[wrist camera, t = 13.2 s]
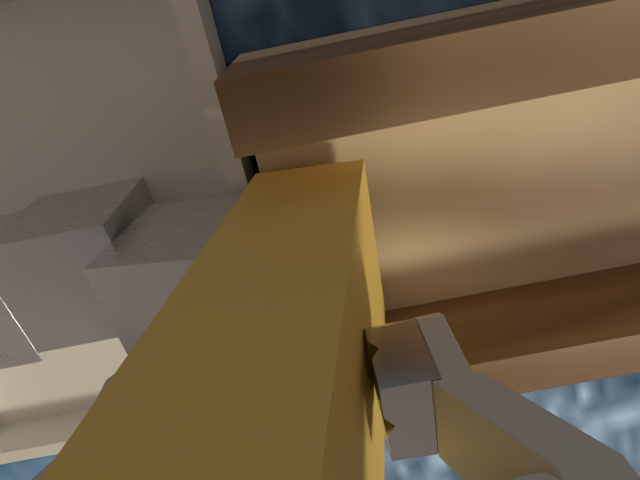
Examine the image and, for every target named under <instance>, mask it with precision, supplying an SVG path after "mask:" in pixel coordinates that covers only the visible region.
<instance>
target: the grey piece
mask: <svg viewBox="0 0 640 480" xmlns="http://www.w3.org/2000/svg"><path fill="white" fill-rule="evenodd" d="M150 205H154V202H153V200H152V197H151V195H150V192H149V190H148V188H147V185H146V183H145V180H144V178H143V177H138V178H133V179H128V180H123V181H119V182H114V183H109V184H104V185H99V186H94V187H89V188H84V189H79V190H74V191H69V192H64V193H59V194H55V195H50V196H45V197H40V198H37V199H36V200H35V201H34V202H32V203H31V204H30V205H28V206H27V207H26V208H25V209H23V210H22V211H21V212H19V213H18V214H17V215H15V216H14V217H13V218H12V219H10V220H9V221H8V222H6V223H5V224H4V225H3V226H1V227H0V298H1V299H2V301H3V302H4V304H5V305H6V307H7V308H8V310H9V311H10V313H11V314H12V316H13V317H14V319H15V320H16V322H17V323H18V325H19V326H20V328H21V329H22V331H23V332H24V334H25V335H26V337H27V338H28V340H29V341H30V343H31V344H32V346H33V347H34V349H35V350H36V352H37V353H40V352H45V351H50V350H56V349H61V348H66V347H71V346H77V345H82V344H87V343H92V342H97V341H103V340H108V339H113V338H118V336H117V334H116V332H115V331H114V329H113V327H112V325H111V323H110V321H109V319H108V317H107V316H106V314H105V312H104V310H103V308H102V306H101V304H100V302H99V301H98V299H97V297H96V295H95V293H94V291H93V289H92V287H91V286H90V284H89V282H88V280H87V278H86V276H85V274H84V272H83V271H82V269H84V268H85V267H86V266H87V265H88V264H89V263H90V262H91V261H92V260H93V259H94V258H95V257H96V256H97V255H98V254H99V253H100V252H101V251H103V250H104V249H105V248H106V247H107V246H108V245H109V244H110V243H111V242H112V241H113V240H114V239H115V238H116V237H117V236H118V235H119V234H121V233H122V232H123V231H124V230H125V229H126V228H127V227H128V226H129V225H130V224H131V223H132V222H133V221H134V220H135V219H136V218H137V217H139V216H140V215H141V214H142V213H143V212H144V211H145V210H146V209H147V208H148V207H149V206H150Z"/></svg>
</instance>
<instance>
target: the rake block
mask: <svg viewBox="0 0 640 480" xmlns="http://www.w3.org/2000/svg"><path fill="white" fill-rule="evenodd" d="M382 324H385V304H384V297H383V290H382V283H381V276H380V269H379V262H378V255H377V248H376V241H375V233H374V226H373V219H372V212H371V205H370V198H369V191H368V184H367V177H366V170H365V163H364V159H362V160H354V161H346V162H339V163H331V164H324V165H316V166H309V167H301V168H293V169H286V170H278V171H271V172H263V173H256V174H255V175H254V177H253V178H252V179H251V181H250V182H249V184H248V185H247V187H246V188H245V189H244V191H243V192H242V194H241V195H240V197H239V198H238V199H237V201H236V202H235V204H234V205H233V206H232V208H231V209H230V211H229V212H228V214H227V215H226V216H225V218H224V219H223V221H222V222H221V223H220V225H219V226H218V228H217V229H216V231H215V232H214V233H213V235H212V236H211V238H210V239H209V241H208V242H207V243H206V245H205V246H204V248H203V249H202V250H201V252H200V253H199V255H198V256H197V258H196V259H195V260H194V262H193V263H192V265H191V266H190V267H189V269H188V270H187V272H186V273H185V275H184V276H183V277H182V279H181V280H180V282H179V283H178V284H177V286H176V287H175V289H174V290H173V292H172V293H171V294H170V296H169V297H168V299H167V300H166V302H165V303H164V304H163V306H162V307H161V309H160V310H159V311H158V313H157V314H156V316H155V317H154V319H153V320H152V321H151V323H150V324H149V326H148V327H147V328H146V330H145V331H144V333H143V334H142V336H141V337H140V338H139V340H138V341H137V343H136V344H135V346H134V347H133V348H132V350H131V351H130V353H129V354H128V355H127V357H126V358H125V360H124V361H123V363H122V364H121V365H120V367H119V368H118V370H117V371H116V372H115V374H114V375H113V377H112V378H111V380H110V381H109V382H108V384H107V385H106V387H105V388H104V390H103V391H102V392H101V394H100V395H99V397H98V398H97V399H96V401H95V402H94V404H93V405H92V407H91V408H90V409H89V411H88V412H87V414H86V415H85V416H84V418H83V419H82V421H81V422H80V424H79V425H78V426H77V428H76V429H75V431H74V432H73V433H72V435H71V436H70V438H69V439H68V441H67V442H66V443H65V445H64V446H63V448H62V449H61V451H60V452H59V453H58V455H57V456H56V458H55V459H54V460H53V462H52V463H51V465H50V466H49V468H48V469H47V470H46V472H45V473H44V475H43V476H42V477H41V479H40V480H384V426H383V421H382V415H381V410H380V409H379V405H378V400H377V396H376V392H375V387H374V382H373V376H372V371H371V362H370V358H369V353H368V349H367V343H366V337H365V331H364V328H367V327H372V326H377V325H382Z"/></svg>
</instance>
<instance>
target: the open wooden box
mask: <svg viewBox="0 0 640 480" xmlns="http://www.w3.org/2000/svg"><path fill="white" fill-rule="evenodd" d="M213 83H214V86H215V90H216V93H217V97H218V100H219V104H220V107H221V111H222V114H223V118H224V121H225V125H226V128H227V132H228V135H229V139H230V142H231V146H232V149H233V153H234V156H235V159H236V158H241V157H246V156H251V155H255V157H256V161H257V164H258V168H259V172H260V173H263V172H271V171H278V170H286V169H293V168H301V167H309V166H316V165H324V164H331V163H339V162H346V161H354V160H362V159H364V163H365V170H366V177H367V184H368V191H369V198H370V205H371V212H372V219H373V226H374V233H375V241H376V248H377V255H378V262H379V269H380V276H381V283H382V290H383V297H384V304H385V324H387V323H393V322H398V321H403V320H408V319H414V318H415V317H420V316H424V315H429V314H434V313H438V312H440V313H441V314H443V315H444V317H445V319H446V321H447V323H448V325H449V327H450V329H451V331H452V333H453V335H454V336H455V338H456V340H457V342H458V344H459V346H460V348H461V350H462V352H463V354H464V356H465V358H466V360H467V362H468V364H469V365H470V367H471V369H472V371H473V373H474V374H475V373H481V372H483V373H484V374H486V375H488V376H489V377H491V378H493V379H494V380H496V381H498V382H499V383H501V384H503V385H505V386H506V387H508V388H510V389H511V390H513V391H515V392H516V393H518V394H521V393H526V392H532V391H537V390H543V389H548V388H554V387H559V386H565V385H570V384H576V383H581V382H587V381H592V380H598V379H603V378H608V377H614V376H619V375H625V374H630V373H636V372H640V0H500V1H495V2H491V3H486V4H481V5H476V6H471V7H466V8H461V9H456V10H452V11H447V12H442V13H437V14H432V15H427V16H422V17H417V18H413V19H408V20H403V21H398V22H393V23H388V24H383V25H378V26H374V27H369V28H364V29H359V30H354V31H349V32H344V33H340V34H335V35H330V36H325V37H320V38H315V39H310V40H305V41H301V42H296V43H291V44H286V45H281V46H276V47H271V48H266V49H262V50H257V51H252V52H247V53H242V54H240V55H239V56H238V57H237V58H236V59H235V60H234V61H233V62H232V63H231V64H230V65H229V66H228V67H227V69H226V70H225V71H224V72H223V73H222V74H221V75H220V76H219V77H218V78H217V79H216V80H215V81H214V82H213Z"/></svg>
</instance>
